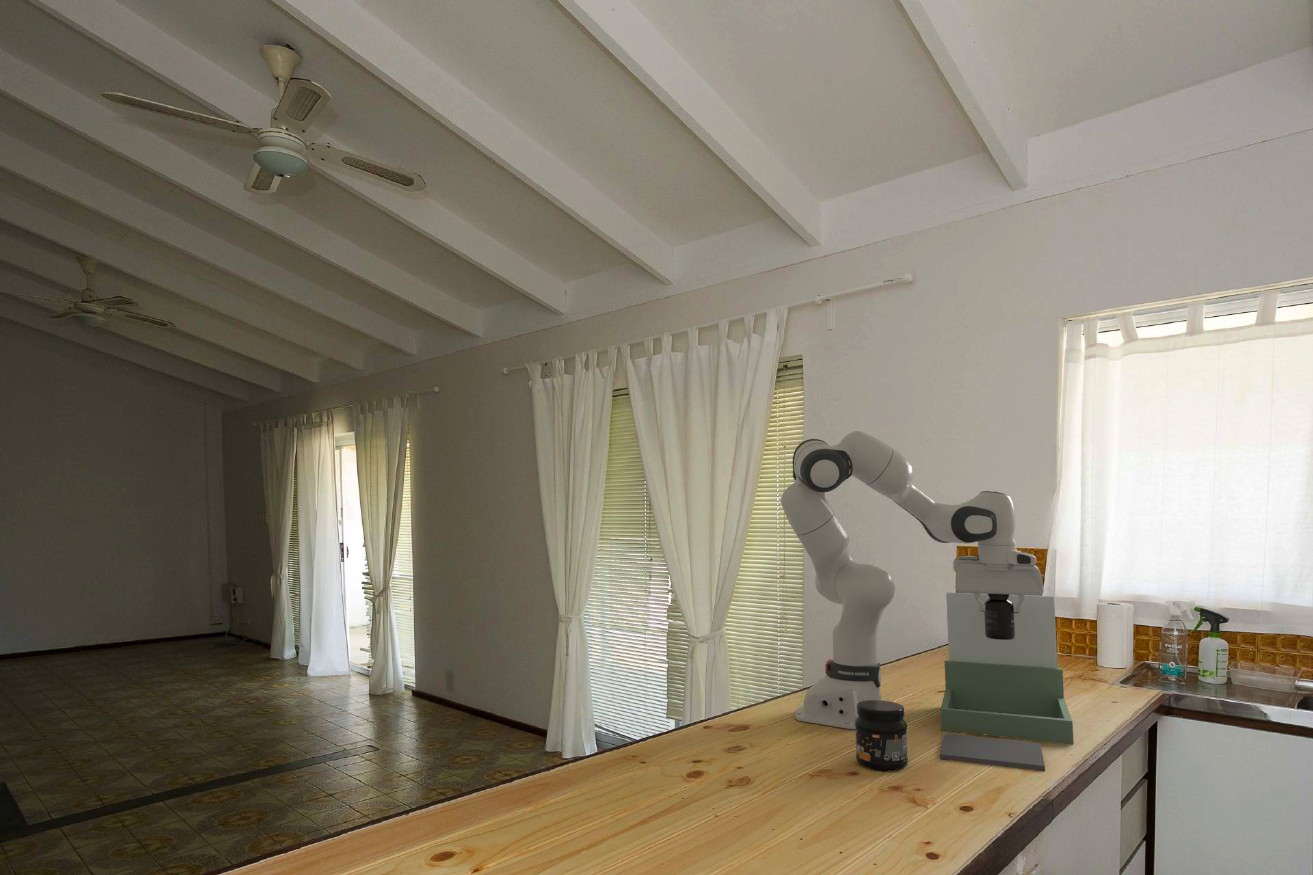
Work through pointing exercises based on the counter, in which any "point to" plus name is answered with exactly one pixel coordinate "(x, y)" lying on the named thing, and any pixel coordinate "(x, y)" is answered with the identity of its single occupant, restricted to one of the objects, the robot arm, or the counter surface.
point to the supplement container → (881, 735)
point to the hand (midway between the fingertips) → (999, 612)
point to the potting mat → (992, 752)
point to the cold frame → (1004, 673)
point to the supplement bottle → (999, 617)
